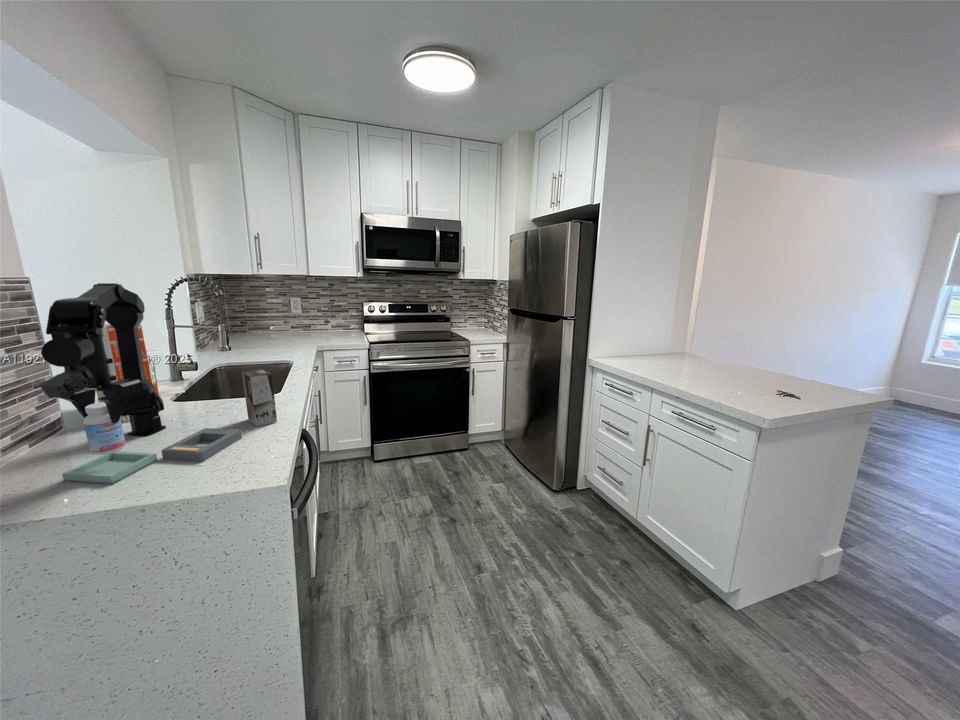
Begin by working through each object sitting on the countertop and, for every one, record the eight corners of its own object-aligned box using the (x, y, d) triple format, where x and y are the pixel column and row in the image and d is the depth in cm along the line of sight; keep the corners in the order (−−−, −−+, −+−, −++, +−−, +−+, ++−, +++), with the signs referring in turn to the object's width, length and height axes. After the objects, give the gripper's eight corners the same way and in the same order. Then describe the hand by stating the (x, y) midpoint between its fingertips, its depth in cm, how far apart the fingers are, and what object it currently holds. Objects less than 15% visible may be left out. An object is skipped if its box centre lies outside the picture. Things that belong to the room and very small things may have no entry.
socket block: (163, 459, 96) (161, 449, 95) (206, 436, 110) (204, 427, 109) (203, 461, 95) (201, 451, 95) (242, 438, 109) (240, 429, 108)
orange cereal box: (158, 414, 125) (141, 325, 118) (126, 422, 118) (106, 327, 112) (130, 402, 136) (113, 319, 130) (100, 408, 130) (80, 322, 123)
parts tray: (64, 481, 85) (61, 473, 85) (113, 458, 96) (112, 451, 96) (112, 484, 84) (111, 476, 84) (157, 460, 95) (156, 453, 95)
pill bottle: (104, 457, 86) (93, 410, 83) (83, 454, 87) (72, 408, 84) (133, 445, 91) (124, 401, 89) (113, 443, 93) (103, 399, 90)
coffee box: (278, 422, 121) (272, 373, 117) (255, 427, 116) (249, 377, 113) (269, 414, 127) (263, 368, 123) (247, 419, 123) (241, 371, 119)
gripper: (3, 363, 77) (23, 434, 80) (87, 367, 75) (103, 439, 79) (65, 352, 88) (80, 415, 91) (140, 355, 86) (152, 418, 90)
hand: (102, 421), depth 88 cm, fingers closed on pill bottle, 6 cm apart
